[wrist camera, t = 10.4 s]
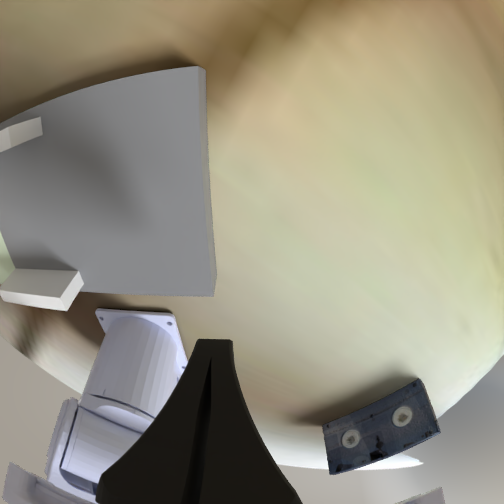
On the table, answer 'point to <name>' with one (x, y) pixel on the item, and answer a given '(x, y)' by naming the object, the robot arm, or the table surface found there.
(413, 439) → the vhs cassette tape
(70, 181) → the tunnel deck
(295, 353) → the table surface
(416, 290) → the table surface
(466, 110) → the table surface
